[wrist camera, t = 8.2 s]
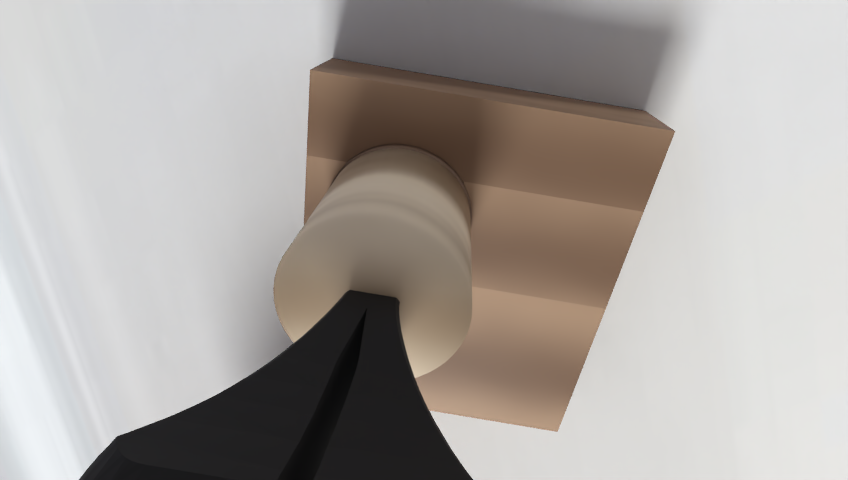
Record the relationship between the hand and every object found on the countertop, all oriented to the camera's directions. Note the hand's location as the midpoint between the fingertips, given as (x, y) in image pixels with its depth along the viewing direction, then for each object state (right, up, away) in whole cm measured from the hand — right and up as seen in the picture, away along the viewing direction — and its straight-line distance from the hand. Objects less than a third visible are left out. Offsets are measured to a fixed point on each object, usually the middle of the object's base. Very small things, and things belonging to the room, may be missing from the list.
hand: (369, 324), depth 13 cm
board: (+3, +2, +9) cm, 10 cm away
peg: (+1, +4, +8) cm, 9 cm away
